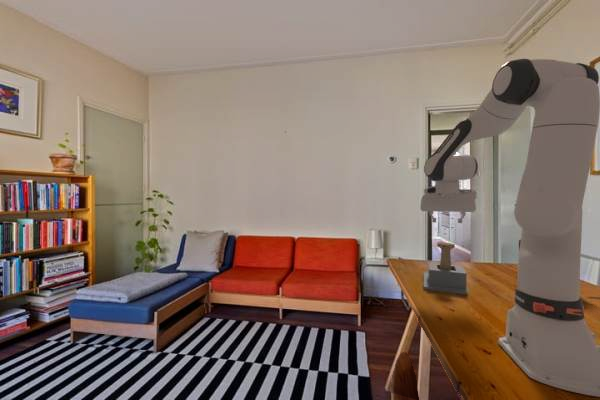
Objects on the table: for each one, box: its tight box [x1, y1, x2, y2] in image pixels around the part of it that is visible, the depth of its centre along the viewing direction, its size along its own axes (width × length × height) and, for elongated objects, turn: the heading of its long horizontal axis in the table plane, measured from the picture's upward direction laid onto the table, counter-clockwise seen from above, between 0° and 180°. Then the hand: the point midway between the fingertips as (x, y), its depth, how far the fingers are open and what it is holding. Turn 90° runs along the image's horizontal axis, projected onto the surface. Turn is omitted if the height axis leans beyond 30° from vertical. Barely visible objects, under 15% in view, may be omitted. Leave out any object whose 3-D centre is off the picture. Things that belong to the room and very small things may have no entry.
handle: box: [436, 241, 456, 270], centre depth 116 cm, size 5×6×15 cm
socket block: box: [423, 262, 469, 296], centre depth 118 cm, size 22×15×7 cm
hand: (446, 222), depth 116 cm, fingers open, 8 cm apart
